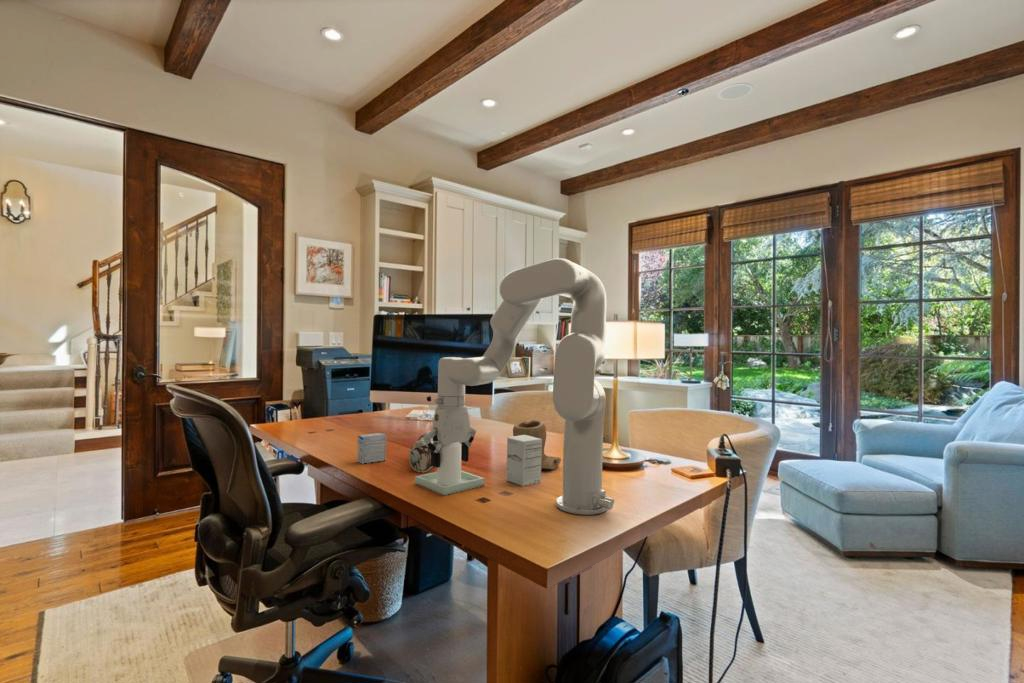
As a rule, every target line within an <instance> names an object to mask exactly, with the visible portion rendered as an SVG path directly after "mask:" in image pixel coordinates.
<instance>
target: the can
mask: <svg viewBox="0 0 1024 683" xmlns="http://www.w3.org/2000/svg"><path fill="white" fill-rule="evenodd" d="M461 446H462V445H461V443H459V441H455V442H452V444H450V445H442V447H441V448H440V450H439V451H438V452H439V453H440V467H438V468H437V467H436V468H437V471H436V472H437V482H438V484H440V485H443V486H449V485H453V484H458V483H460V482H461V470H462V460H461Z"/></svg>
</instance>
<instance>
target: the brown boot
mask: <svg viewBox="0 0 1024 683" xmlns="http://www.w3.org/2000/svg"><path fill="white" fill-rule="evenodd" d="M519 435H528V436H532V437H536V438H539V439H542V457H541V470H555V469H557V468H558V467H559V465H560V463H561V460H562V458H561V457H559V456H558V457H557V456H548V455H547V454H545V445H546V441H547V427H546V424H545V423H544V422H543V421H541V420H537V419H535V420H534V419H533V420H530V421H526V420H523V421H522V420H521V421H520V422H518V423H516V424H514V426H513V428H512V437H513V436H519Z"/></svg>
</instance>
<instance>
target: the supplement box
mask: <svg viewBox="0 0 1024 683" xmlns="http://www.w3.org/2000/svg"><path fill="white" fill-rule="evenodd" d="M506 439H507V440H506V441H507V445H506V448H507V449H506V453H507V454H506V474H505V475H506V479H505V480H506V482H507V481H508V482H511V483H513V484H516V485H519V486H521V487H526V486H525V485H527V486H530V485H529V484H531V485H534V484H533V483H536V484H539V483H538V482H540V483H542V469H541V457H542V439H539V438H536V437H532V436H528V435H519V436H513V435H512V436H508V437H507V438H506Z"/></svg>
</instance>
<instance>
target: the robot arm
mask: <svg viewBox="0 0 1024 683" xmlns="http://www.w3.org/2000/svg"><path fill="white" fill-rule="evenodd" d="M499 294H500V297H501V298H502V300H501V303H500V304H499V305H498V307H497V309H496V310H495V312H494V313H493V314H492V317H491V318H490V321H489V323H490V326H491V329H492V334H493V335H492V340H491V342H490V344H489V346H488V348H487V349H486V350H485V352H484V353H483V355H482V356H478V357H477V356H475V357H466V358H465V357H459V356H458V357H456V356H447V357H446V356H444V357H441V358H439V360H438V365H437V366H438V367H437V369H438V370H437V373H438V374H437V398H435V399H434V404H436V405H437V406H436V407H435V410H434V414H433V421H432V430H430V431H431V432H429V433H428V434H427V435H425V436H424V437H423V440H424V442H425V444H426V447H427V448H428V449H429V451H431V465H432V466H434V467H433V468H438V467H440V453H439V452H438V451H439V450H440V448H441V447H442V445H450V444H452V442H455V441H459V443H461V462H466V463H467V462H469V456H470V454H469V452H470V451H469V449H470V447H471V445H472V443H473V441H474V438H475V437H476V433H477V430H476V429H475V428H472V427H471V425H470V414H469V409H468V406H467V405H465V404H466V386H470V387H474V386H480V385H487V384H491V383H494V381H496V379H498V377H500V375H501V374H502V372H503V371H504V369H505V368H506V367H507V365H508V363H509V362H510V360H511V359H512V356H513V354H514V351H515V348H516V345H517V340H518V337H519V335H520V334H521V332H522V331H523V329H524V328H525V326H526V325H527V324H528V321H529V320H530V318H531V317H533V316H532V315H533V314H534V313H535V311H536V310H537V308H538V306H540V304H541V302H542V301H543V299H545V298H549V297H553V296H557V295H558V296H562V297H566V298H569V299H571V301H572V308H571V313H570V314H571V315H570V329H569V330H570V331H569V333H568V334H566V335H565V336H563V337H562V339H561V340H560V341H559V343H558V344H557V346H556V350H555V354H554V364H553V365H554V366H553V381H552V382H553V383H552V404H553V407H554V409H555V411H556V413H557V415H559V417H561V418H562V419H564V427H563V429H564V430H563V448H562V450H563V453H562V455H563V457H562V495H560V496H558V497H557V498H556V500H555V505H556V507H557V508H558V509H559V510H561V511H563V512H566V513H569V514H574V515H581V516H582V515H583V516H585V515H586V516H589V515H599V514H601V513H605V512H606V511H607V510H610V511H611V510H612V509H613V507H614V505H615V504H614V503H615V499H614V498H611V497H607V496H606V495H607V493H606V490H605V489H603V453H604V452H603V451H604V450H603V447H604V427H605V426H604V425H605V424H604V423H605V415H606V414H605V413H606V407H607V406H606V405H607V397H606V392H605V389H604V388H603V386H602V385H601V383H600V382H599V381H598V380H596V379H595V375H596V374H595V373H596V370H597V369H599V368H600V367H601V365H602V364H603V362H604V360H605V354H606V345H605V344H606V330H607V329H606V328H607V323H606V322H607V306H608V305H607V294H606V289H605V286H604V284H603V282H602V280H601V279H600V278H599V277H598V276H597V275H596V274H595V273H593V272H592V271H590V270H589V269H587V268H586V267H583V266H582V265H579V264H578V263H576V262H573V261H571V260H569V259H567V258H561V257H557V258H551V259H548V260H545V261H541V262H539V263H534V264H531V265H527V266H524V267H522V268H518V269H515V270H512V271H511V272H509V273H507V274H506V275H504V276H503V278H502V280H501V282H500V285H499ZM431 438H432V439H433V443H431Z"/></svg>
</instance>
